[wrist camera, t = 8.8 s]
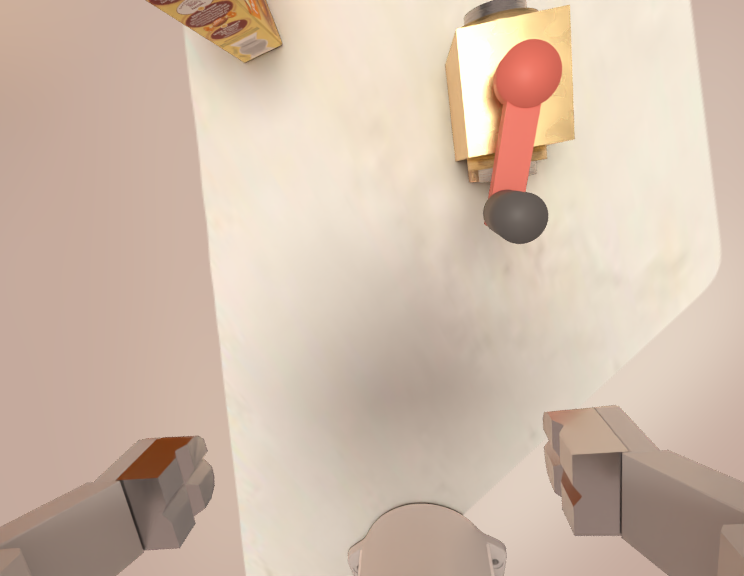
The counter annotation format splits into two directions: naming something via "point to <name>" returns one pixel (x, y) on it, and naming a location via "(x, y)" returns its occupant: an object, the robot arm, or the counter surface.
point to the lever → (520, 139)
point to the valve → (476, 72)
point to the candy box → (228, 23)
